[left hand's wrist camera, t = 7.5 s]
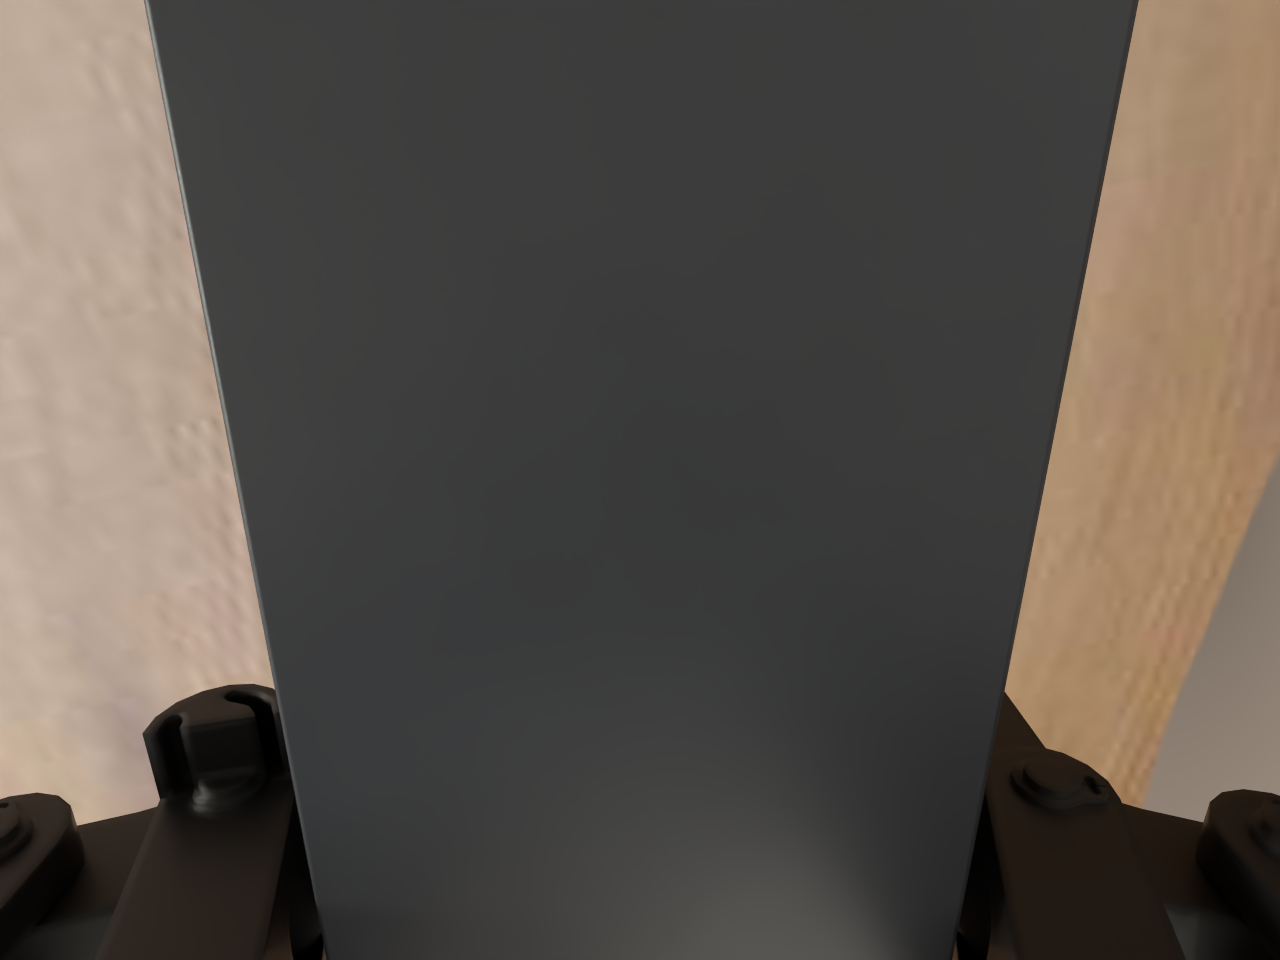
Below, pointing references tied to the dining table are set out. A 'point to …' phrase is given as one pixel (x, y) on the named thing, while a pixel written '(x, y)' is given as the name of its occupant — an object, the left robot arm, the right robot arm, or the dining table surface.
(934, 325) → the bar
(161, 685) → the dining table surface
